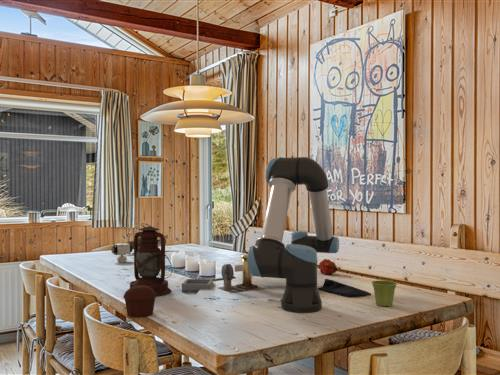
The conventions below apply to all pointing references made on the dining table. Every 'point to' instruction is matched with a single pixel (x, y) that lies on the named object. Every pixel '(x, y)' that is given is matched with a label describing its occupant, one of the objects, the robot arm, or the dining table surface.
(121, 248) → the pneumatic valve
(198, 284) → the tray
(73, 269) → the dining table surface
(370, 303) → the dining table surface
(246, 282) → the lock pin
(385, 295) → the plant pot
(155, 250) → the lantern
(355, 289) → the dark slate chunk
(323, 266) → the red bumpy oval lump
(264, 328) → the dining table surface
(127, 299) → the muffin
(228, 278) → the board
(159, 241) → the wood carving
